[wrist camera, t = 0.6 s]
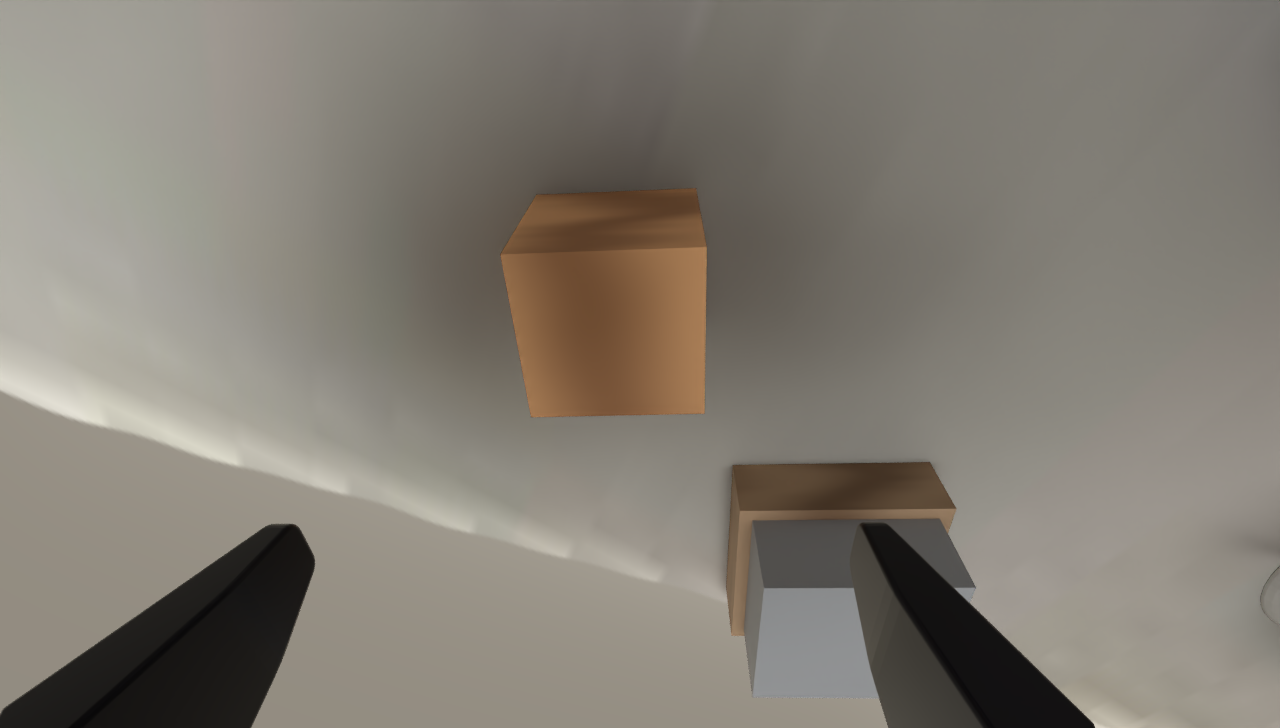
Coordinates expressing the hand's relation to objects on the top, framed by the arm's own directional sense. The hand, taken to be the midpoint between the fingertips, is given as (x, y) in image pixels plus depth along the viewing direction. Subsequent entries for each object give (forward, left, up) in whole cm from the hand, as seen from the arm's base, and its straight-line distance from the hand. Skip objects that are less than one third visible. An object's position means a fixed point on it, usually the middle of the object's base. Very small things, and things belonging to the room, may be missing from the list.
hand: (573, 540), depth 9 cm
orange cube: (0, 0, -12) cm, 12 cm away
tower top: (-8, +13, -9) cm, 18 cm away
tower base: (-8, +13, -12) cm, 20 cm away
